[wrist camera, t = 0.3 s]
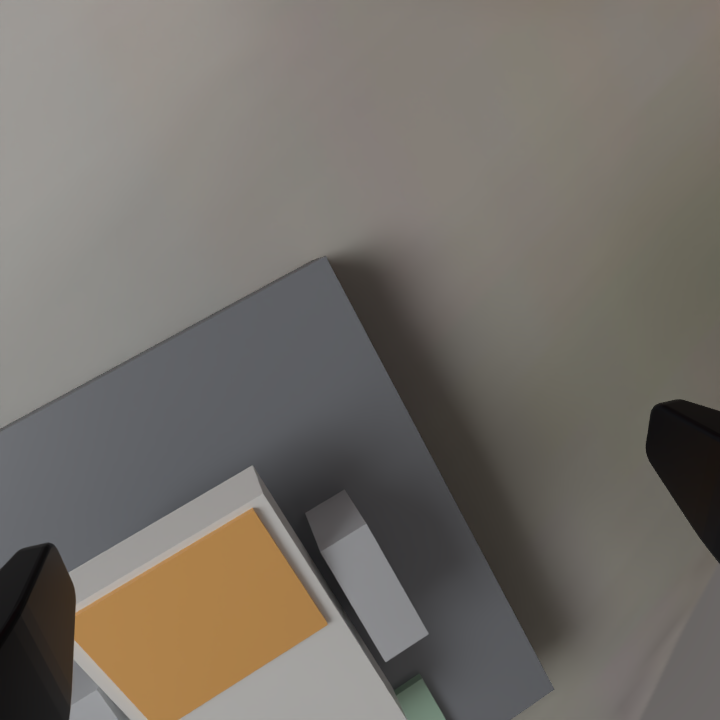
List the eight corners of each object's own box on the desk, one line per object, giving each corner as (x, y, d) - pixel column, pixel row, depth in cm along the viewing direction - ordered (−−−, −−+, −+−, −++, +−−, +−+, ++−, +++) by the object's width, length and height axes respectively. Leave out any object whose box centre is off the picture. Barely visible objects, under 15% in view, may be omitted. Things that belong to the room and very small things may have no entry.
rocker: (391, 686, 21) (411, 729, 20) (234, 790, 21) (242, 843, 19) (252, 465, 17) (264, 496, 16) (49, 583, 16) (39, 629, 15)
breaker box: (517, 645, 26) (605, 749, 20) (173, 877, 24) (158, 1070, 18) (311, 260, 23) (345, 249, 17) (-114, 490, 21) (-250, 571, 15)
